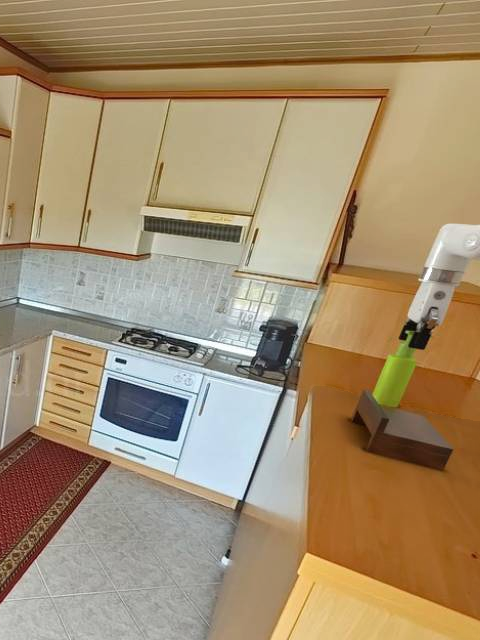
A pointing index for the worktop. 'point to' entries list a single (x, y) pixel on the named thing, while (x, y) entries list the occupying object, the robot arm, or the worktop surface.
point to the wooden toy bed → (401, 434)
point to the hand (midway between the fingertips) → (410, 344)
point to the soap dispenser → (396, 375)
